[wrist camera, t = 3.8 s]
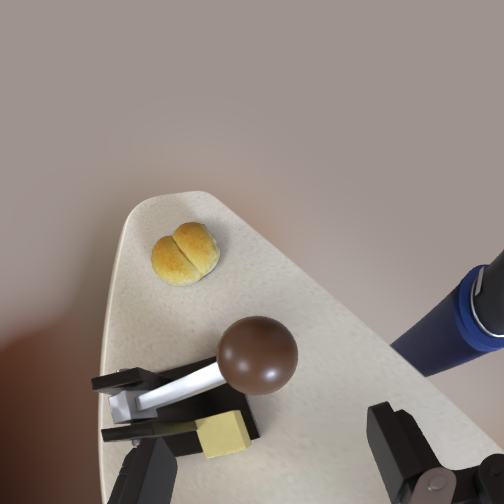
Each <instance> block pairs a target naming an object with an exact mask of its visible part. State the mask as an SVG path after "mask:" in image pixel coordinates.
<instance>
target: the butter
mask: <svg viewBox="0 0 504 504" xmlns="http://www.w3.org/2000/svg"><path fill="white" fill-rule="evenodd" d="M195 422H196V425H197V428H198V430H196V431H197V434H198V437H199V440H200V443H201V446H202V449H203V452H204V455H205V457H206V458H211V457H216V456H220V455H225V454H229V453H233V452H237V451H241V450H245V449H247V448H248V447H249V446H251V445H252V443H251V440H250V437H249V435H248V432H247V429H246V426H245V423H244V421H243V418H242V415H241V412H240V410H232V411H229V412H225V413H222V414H218V415H214V416H210V417H207V418H203V419H199V420H195Z"/></svg>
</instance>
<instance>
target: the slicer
mask: <svg viewBox="0 0 504 504" xmlns="http://www.w3.org/2000/svg"><path fill="white" fill-rule="evenodd" d="M215 362H217V358H216V356H215V357H212V358H208V359H205V360H202V361H199V362H196V363H192V364H189V365H185V366H182V367H179V368H175V369H172V370H168V371H164V372H161V373H157V374H156V373H153V372H150V371H147V370H144V369H142V368H139V367H136V368H132V369H120V370H117V371H116V373H113V374H109V375H105V376H101V377H96V378H92V379H91V382H92V388H93V391H96V392H100V393H105V394H110V395H115V394H118V393H120V392H122V391H124V390H151V391H152V390H154V389H157V388H159V387H162V386H164V385H166V384H169V383H171V382H173V381H175V380H178V379H180V378H182V377H184V376H187V375H189V374H191V373H193V372H196V371H198V370H200V369H202V368H204V367H206V366H208V365H211V364H213V363H215ZM232 410H240V412H241V415H242V418H243V421H244V423H245V426H246V429H247V432H248V435H249V437H250V440H254V439H257V438H260V437H261V434H260V432H259V429H258V426H257V423H256V421H255V418H254V415H253V412H252V409H251V407H250V404H249V401H248V398H247V395H246V394H245V393H242V392H240V391H238V390H236V389H234V388H233V387H232V386H230V385H229V384H228V383H224V384H222V385H219V386H217V387H214V388H212V389H209V390H207V391H204V392H202V393H199V394H196V395H194V396H191V397H188V398H185V399H183V400H180V401H177V402H174V403H171V404H168V405H165V406H162V407H159V408H156V412H157V416H158V417H157V418H154V419H151V420H147V421H143V422H140V423H131V425H130V426H123V427H117V428H109V429H102V430H101V432H102V436H103V440H104V442H119V441H132V444H133V446H137V448H138V446H139V443H140V440H141V439H142V437H161V438H163V440H164V441H165V443H166V444H167V446H168V447H169V449H170V450H171V452H172V453H173V455H174V456H175V457H179V456H185V455H190V454H196V453H201V452H203V449H202V446H201V443H200V440H199V437H198V434H197V431H196V430H198V428H197V425H196V422H195V420H199V419H203V418H207V417H210V416H214V415H218V414H222V413H225V412H229V411H232Z"/></svg>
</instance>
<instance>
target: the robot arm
mask: <svg viewBox="0 0 504 504" xmlns="http://www.w3.org/2000/svg"><path fill="white" fill-rule="evenodd" d="M483 270H484V266H483V267H482V269H481V270H480V271H479V275H478V276H477V277H476V278H475V279H474V280H473V282H472V284H471V286H470V290H469V296H468V303H469V309H470V313H471V316H472V319H473V321H474V323H475V325H476V326H477V327H478V329H479V330H480V331H481V332H482V333H483V334H484V335H486V336H488V337H490V338H493V339H500V338H503V337H504V250H503V251H502V252H501V253H500V254H499V256H498V257H497V258H496V259H495V260H494V261H493V262H492V263H491V264H490V265H489V266H488V267H487V268H486V269H485V270H484V271H483ZM366 432H367V439H368V443H369V445H370V448H371V451H372V453H373V456H374V458H375V461H376V463H377V466H378V469H379V471H380V474H381V476H382V479H383V482H384V484H385V487H386V490H387V492H388V495H389V498H390V501H391V503H392V504H400V503H401V504H504V454H493V455H490V456H488V457H487V458H485V459H484V460H483V461H482V463H481V464H480V465H478V466H475V467H471V468H467V469H462V470H450V469H447V468H445V467H443V466H442V465H441V464H440V463H439V461H438V459H437V458H436V456H435V454H434V452H433V450H432V449H431V447H430V445H429V443H428V442H427V440H426V438H425V437H424V435H423V433H422V431H421V430H420V428H418V425H417V423H416V421H415V420H414V418H413V416H412V415H410V414H409V413H407V412H406V411H404V410H403V409H402V410H399V411H396V412H394V411H393V409H392V408H391V406H390V404H389V403H388V402H387V401H386V402H383V403H380V404H377V405H373V406H370V407H368V412H367V429H366ZM176 474H177V461H176V458H175V456H174V455H173V453H172V452H171V450H170V449H169V447H168V446H167V444H166V443H165V441H164V440H163V438H161V437H142V439H141V440H140V443H139V446H138V448H133V449H132V450H131V451H130V452H129V453H128V454H127V455H126V457H125V459H124V462H123V464H122V468H121V470H120V472H119V475H118V477H117V480H116V483H115V485H114V488H113V490H112V493H111V496H110V498H109V501H108V503H107V504H170V501H171V497H172V492H173V487H174V483H175V478H176Z"/></svg>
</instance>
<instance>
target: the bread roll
mask: <svg viewBox="0 0 504 504" xmlns="http://www.w3.org/2000/svg"><path fill="white" fill-rule="evenodd" d="M219 258H220V247H219V246H218V244H217V243H216V241H215V239H214V238H213V236H212V235H211V234H210V233H209V231H208V230H207V228H206V226H205V225H204V224H200V223H196V222H191V223H185V224H182V225H181V226H179V227H178V229H177V230H176V231H175V232H174V234H173V235H172V236H165V237H163V238H161V239H160V240H159V241H158V242H157V243H156V244H155V246H154V248H153V250H152V267H153V270H154V272H155V274H156V275H157V276H158V277H159V278H160V279H161V280H163V281H164V282H166V283H168V284H170V285H174V286H188V285H191V284H193V283H196V282H197V281H199V280H200V279H201V278H202V277H203V276H205V275H207V274H208V273H210V272H211V271H212V270H213V268H214V267H215V266H216V264H217V262H218V261H219Z"/></svg>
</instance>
